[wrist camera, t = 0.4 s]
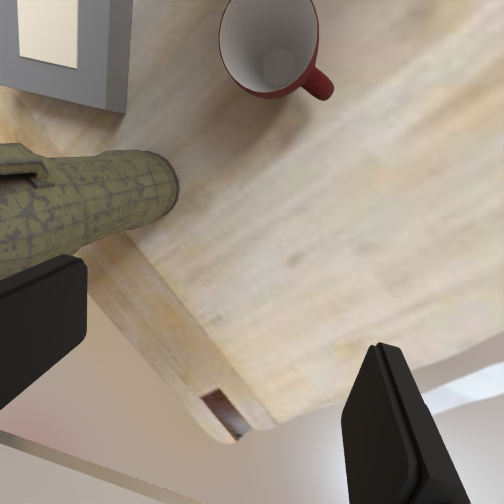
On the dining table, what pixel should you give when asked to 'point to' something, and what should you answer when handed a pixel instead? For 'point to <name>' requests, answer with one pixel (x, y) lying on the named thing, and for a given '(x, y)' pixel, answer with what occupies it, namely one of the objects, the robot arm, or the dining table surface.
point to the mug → (273, 47)
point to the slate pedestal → (67, 49)
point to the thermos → (75, 201)
